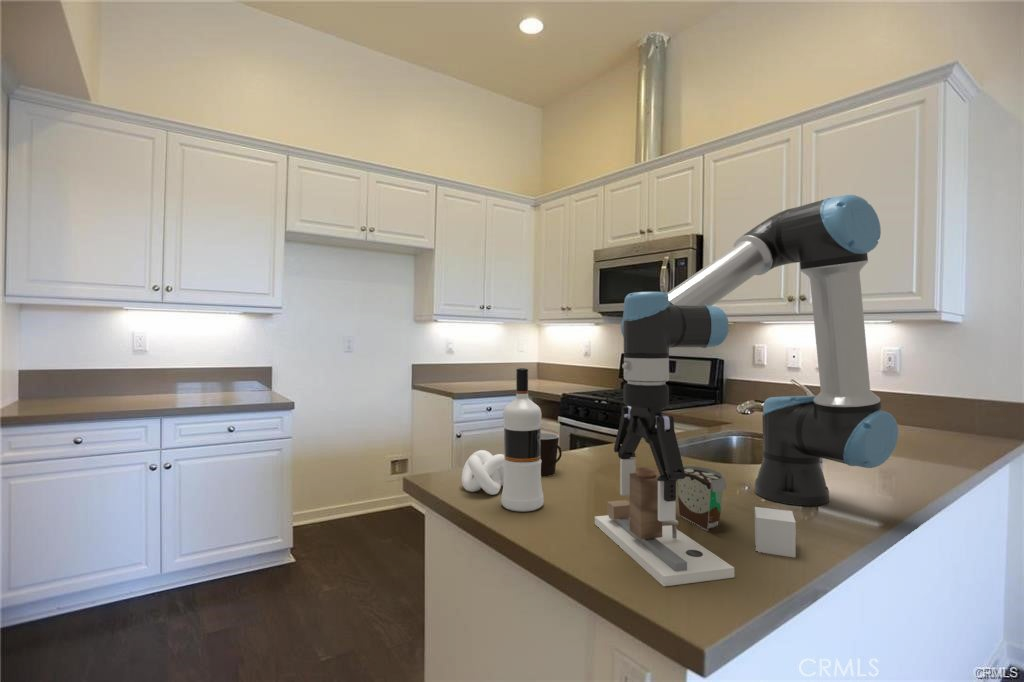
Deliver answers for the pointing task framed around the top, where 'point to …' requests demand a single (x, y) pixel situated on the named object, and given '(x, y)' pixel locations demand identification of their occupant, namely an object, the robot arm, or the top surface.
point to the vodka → (522, 451)
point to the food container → (701, 496)
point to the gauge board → (663, 550)
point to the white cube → (775, 532)
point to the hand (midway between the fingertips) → (645, 506)
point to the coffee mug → (549, 453)
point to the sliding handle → (646, 506)
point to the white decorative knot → (483, 472)
